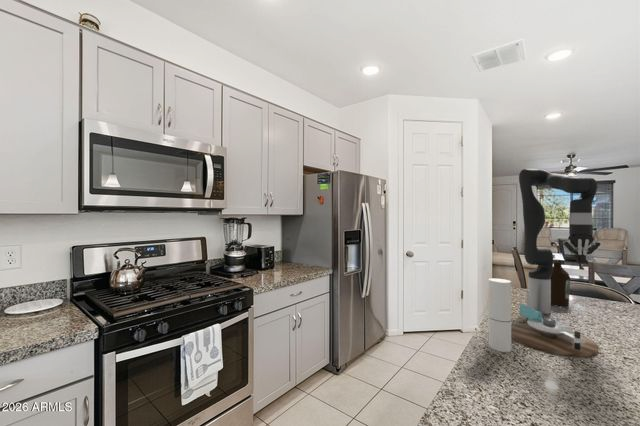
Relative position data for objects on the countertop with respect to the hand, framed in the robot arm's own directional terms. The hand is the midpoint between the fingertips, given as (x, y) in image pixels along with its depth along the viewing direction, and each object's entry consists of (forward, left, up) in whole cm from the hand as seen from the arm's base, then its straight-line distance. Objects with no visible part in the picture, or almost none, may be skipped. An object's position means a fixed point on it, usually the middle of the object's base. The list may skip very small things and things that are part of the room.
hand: (581, 263), depth 123 cm
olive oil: (-29, +32, -29) cm, 52 cm away
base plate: (+2, -23, -29) cm, 37 cm away
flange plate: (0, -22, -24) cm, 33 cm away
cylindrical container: (+1, -48, -29) cm, 56 cm away
